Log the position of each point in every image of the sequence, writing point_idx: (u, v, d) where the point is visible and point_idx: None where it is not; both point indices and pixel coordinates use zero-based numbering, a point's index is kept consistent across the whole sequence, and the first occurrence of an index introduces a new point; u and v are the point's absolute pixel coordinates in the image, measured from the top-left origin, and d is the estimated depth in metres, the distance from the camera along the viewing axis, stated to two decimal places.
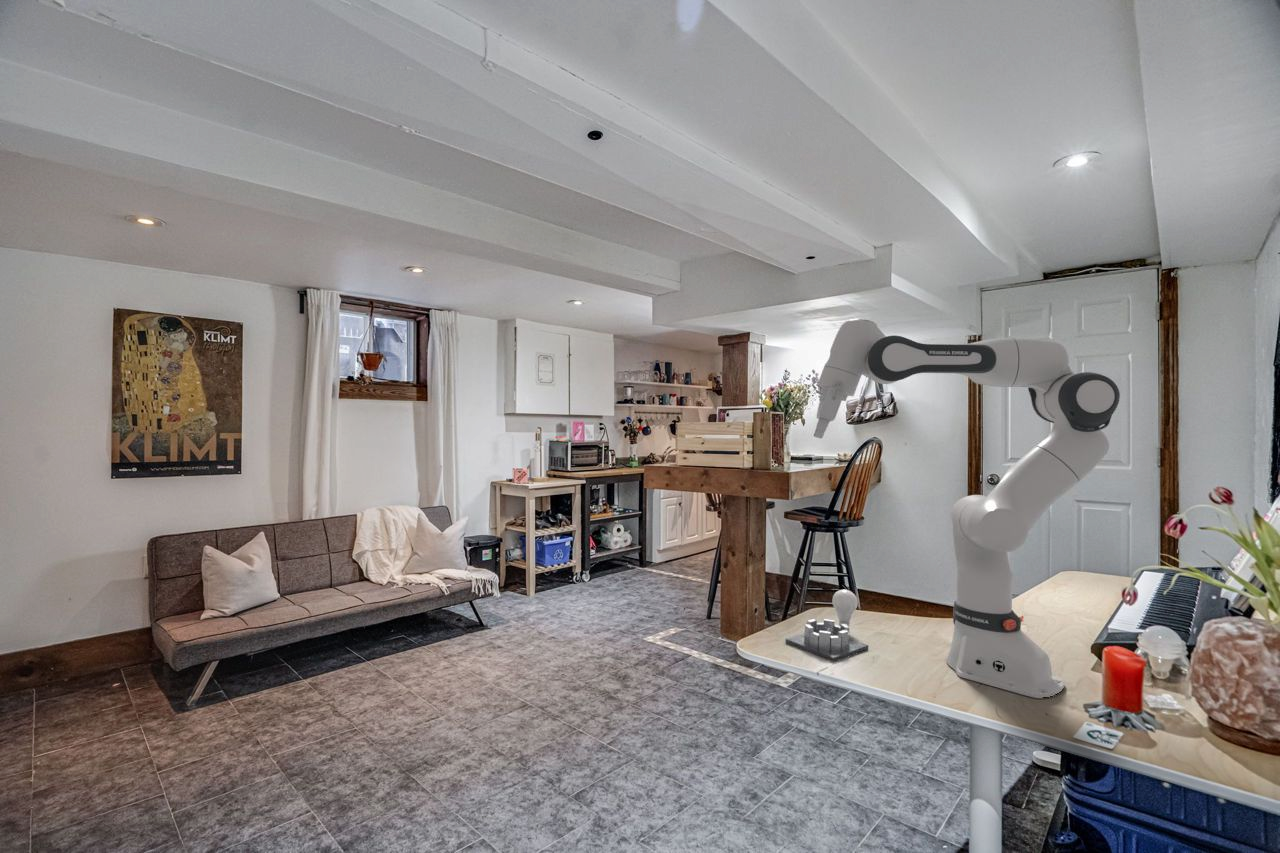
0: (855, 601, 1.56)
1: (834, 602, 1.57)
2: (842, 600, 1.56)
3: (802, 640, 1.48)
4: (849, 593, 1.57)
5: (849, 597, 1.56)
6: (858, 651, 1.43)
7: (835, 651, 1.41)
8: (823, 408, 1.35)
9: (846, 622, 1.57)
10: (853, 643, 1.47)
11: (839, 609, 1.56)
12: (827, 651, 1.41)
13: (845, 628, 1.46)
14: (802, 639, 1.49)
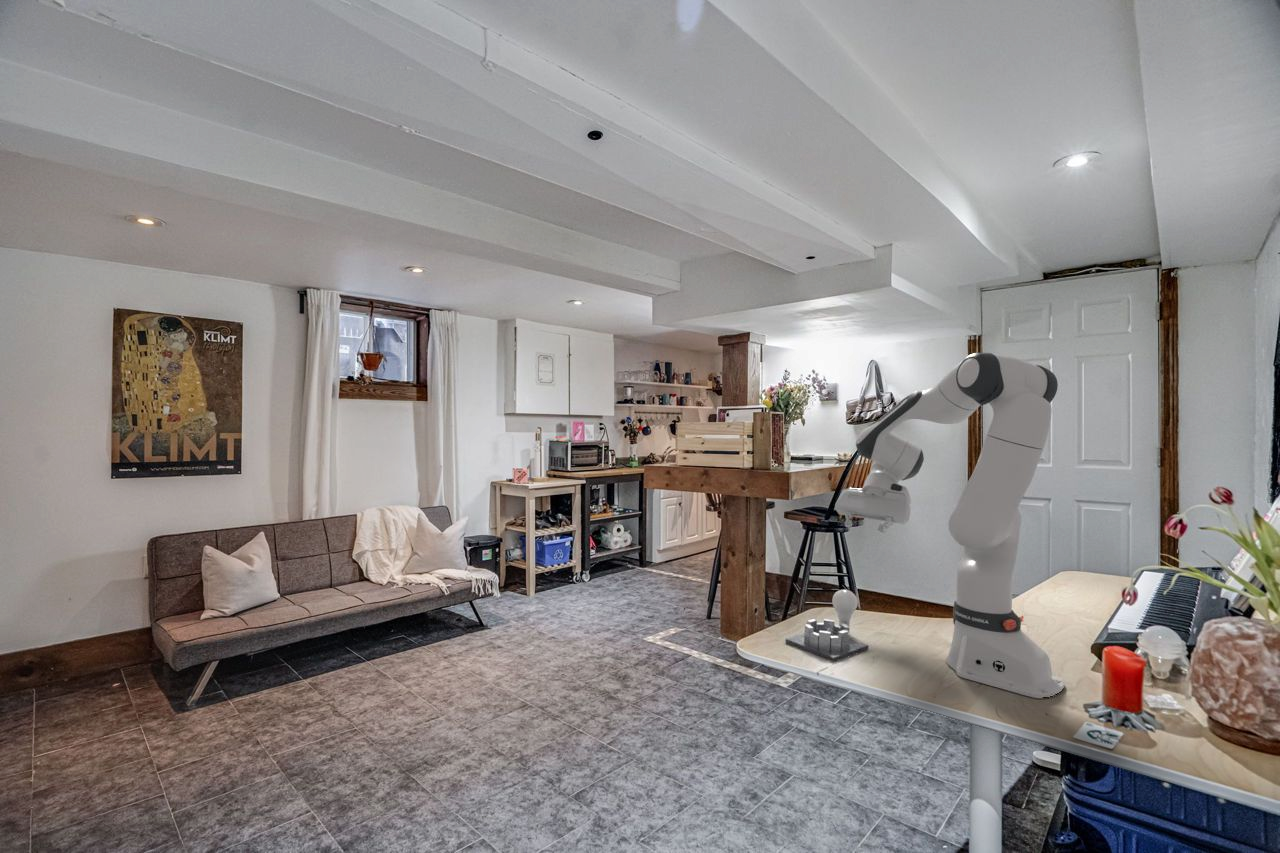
0: (855, 601, 1.56)
1: (834, 602, 1.57)
2: (842, 600, 1.56)
3: (802, 640, 1.48)
4: (849, 593, 1.56)
5: (849, 597, 1.56)
6: (858, 651, 1.43)
7: (835, 651, 1.41)
8: None
9: (846, 622, 1.57)
10: (853, 643, 1.47)
11: (839, 609, 1.56)
12: (827, 651, 1.41)
13: (845, 628, 1.46)
14: (802, 639, 1.49)
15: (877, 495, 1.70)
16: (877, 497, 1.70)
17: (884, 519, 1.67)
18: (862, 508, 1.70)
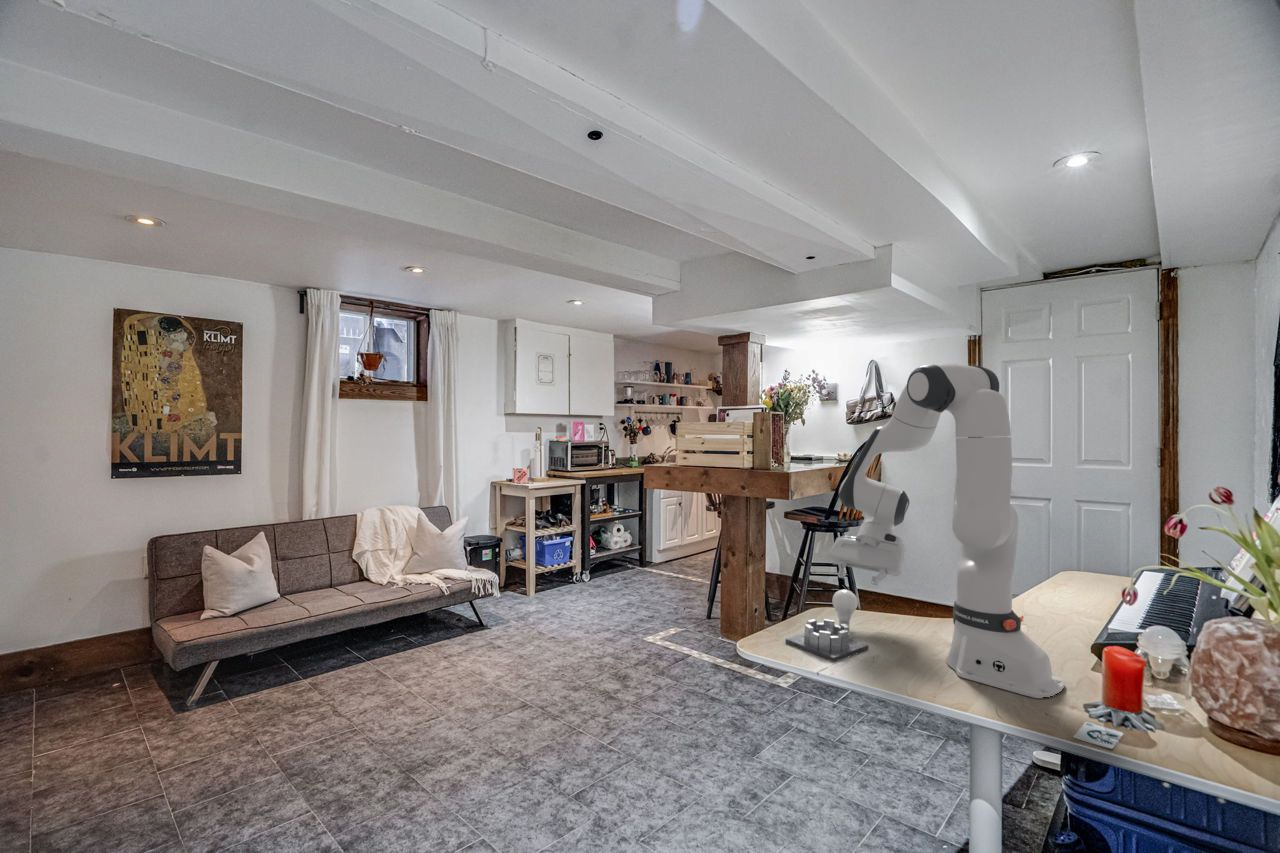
0: (855, 601, 1.56)
1: (834, 602, 1.57)
2: (842, 600, 1.56)
3: (802, 640, 1.48)
4: (849, 593, 1.57)
5: (849, 597, 1.56)
6: (858, 651, 1.43)
7: (835, 651, 1.41)
8: None
9: (846, 622, 1.57)
10: (853, 643, 1.47)
11: (838, 609, 1.56)
12: (827, 651, 1.41)
13: (845, 628, 1.46)
14: (802, 639, 1.49)
15: (871, 545, 1.67)
16: (871, 547, 1.67)
17: (878, 570, 1.64)
18: (856, 558, 1.67)
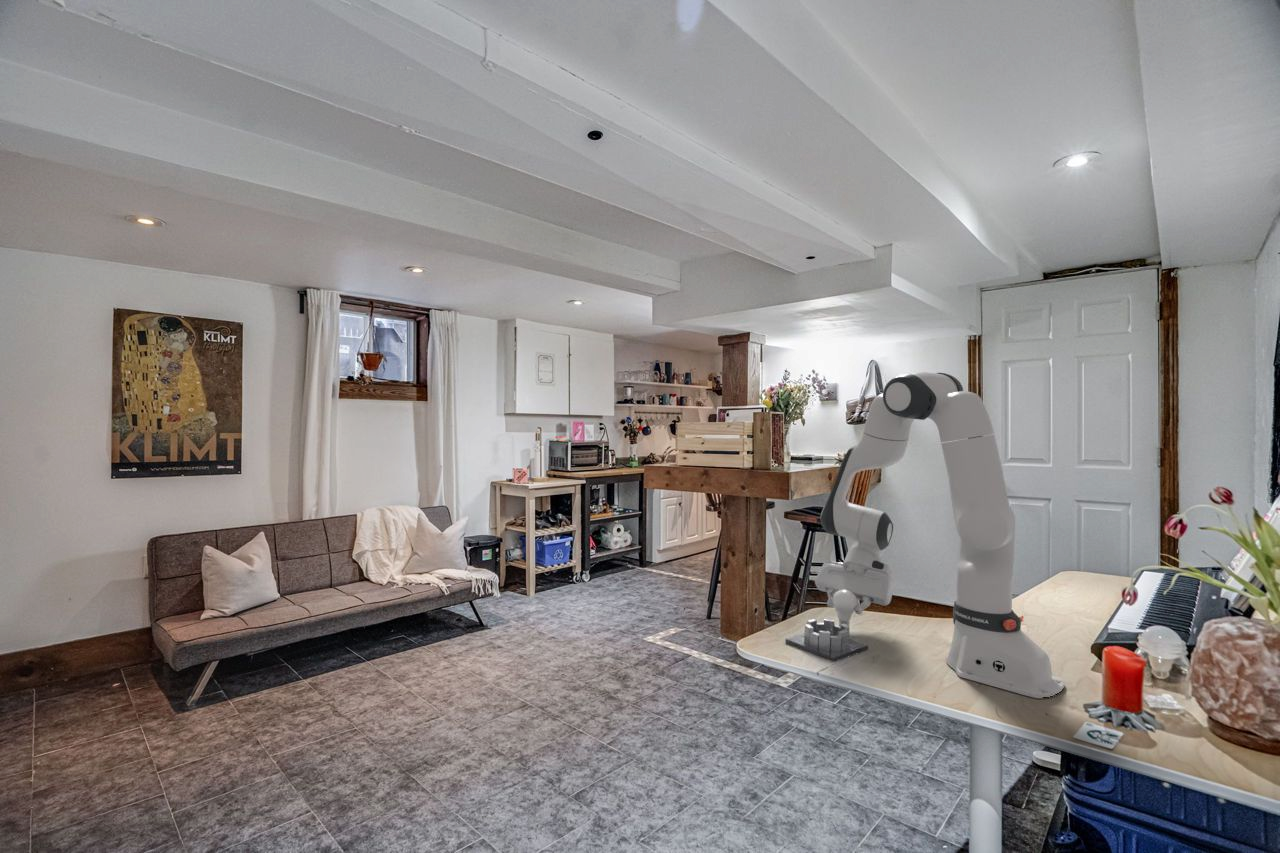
0: (855, 601, 1.56)
1: (834, 602, 1.57)
2: (842, 600, 1.56)
3: (802, 640, 1.48)
4: (849, 593, 1.57)
5: (849, 597, 1.56)
6: (858, 651, 1.43)
7: (835, 651, 1.41)
8: None
9: (846, 622, 1.57)
10: (853, 643, 1.47)
11: (838, 609, 1.56)
12: (827, 651, 1.41)
13: (845, 628, 1.46)
14: (802, 639, 1.49)
15: (858, 572, 1.61)
16: (858, 574, 1.61)
17: None
18: (842, 586, 1.61)
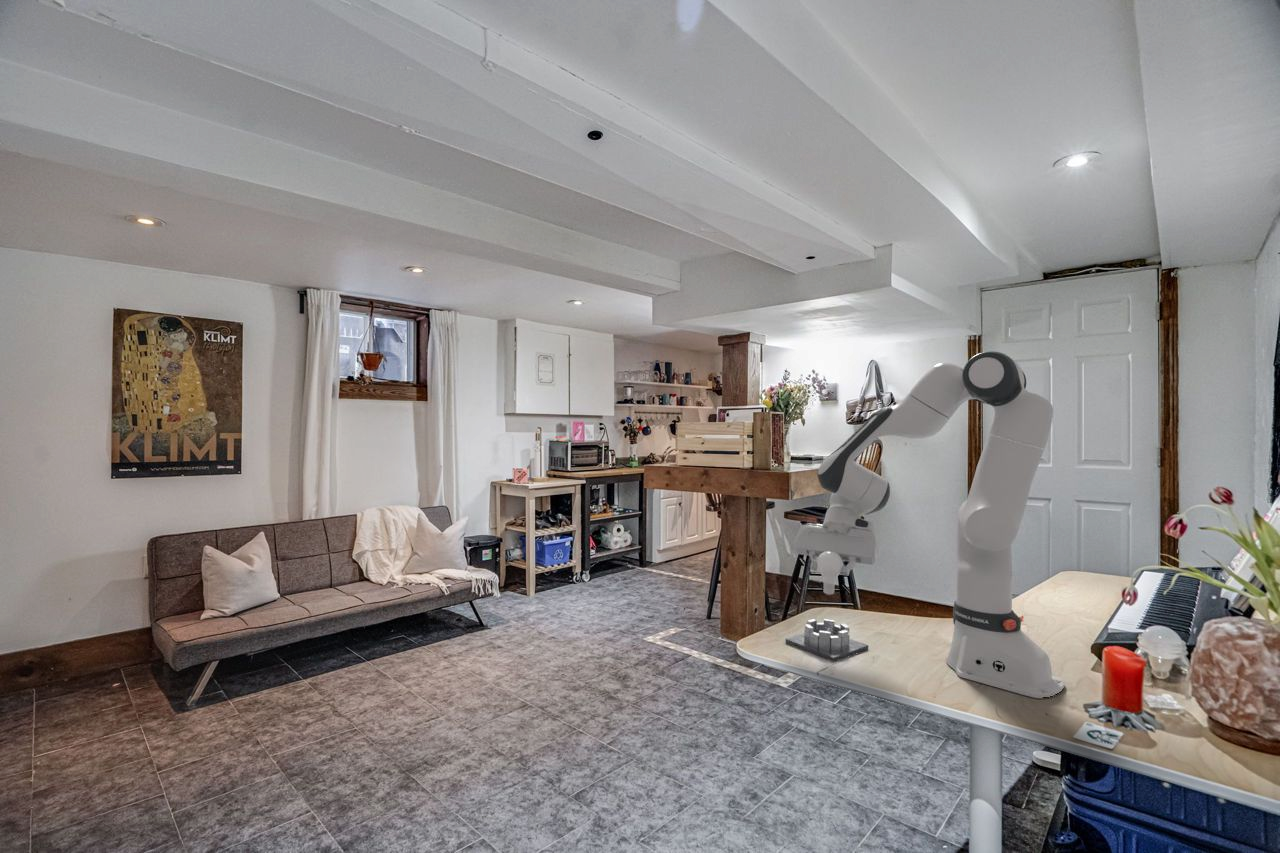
0: (842, 562, 1.47)
1: (820, 564, 1.47)
2: (829, 561, 1.46)
3: (802, 640, 1.48)
4: (835, 554, 1.47)
5: (836, 558, 1.46)
6: (858, 651, 1.43)
7: (835, 651, 1.41)
8: None
9: (832, 585, 1.47)
10: (853, 643, 1.47)
11: (825, 572, 1.46)
12: (827, 651, 1.41)
13: (845, 628, 1.46)
14: (802, 639, 1.49)
15: (841, 532, 1.52)
16: (841, 534, 1.52)
17: None
18: (826, 547, 1.51)
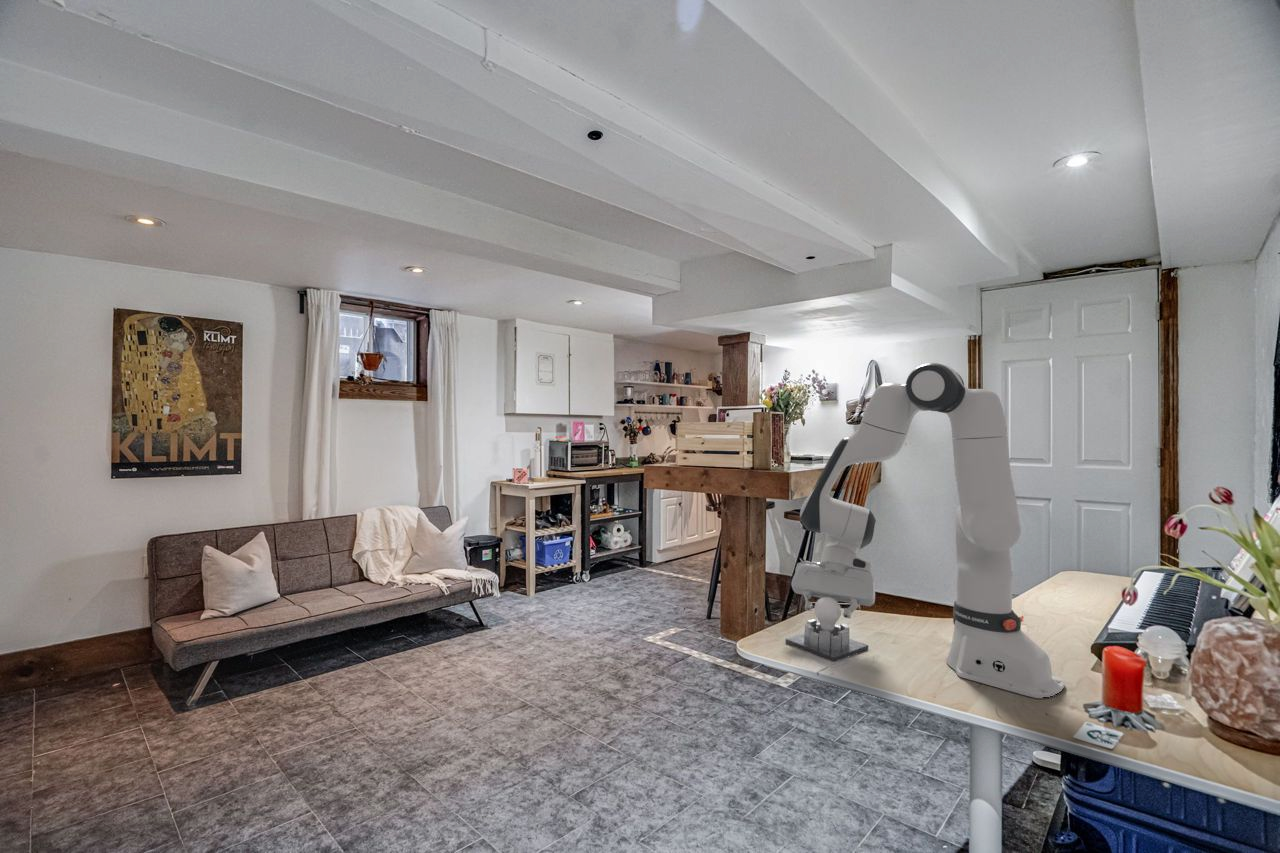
0: (839, 609, 1.45)
1: (818, 611, 1.46)
2: (827, 608, 1.45)
3: (802, 640, 1.48)
4: (833, 600, 1.46)
5: (834, 604, 1.45)
6: (858, 651, 1.43)
7: (835, 651, 1.41)
8: None
9: None
10: (853, 643, 1.47)
11: (823, 619, 1.45)
12: (827, 651, 1.41)
13: (845, 628, 1.46)
14: (802, 639, 1.49)
15: (838, 572, 1.51)
16: (838, 574, 1.51)
17: (847, 600, 1.48)
18: (823, 587, 1.50)
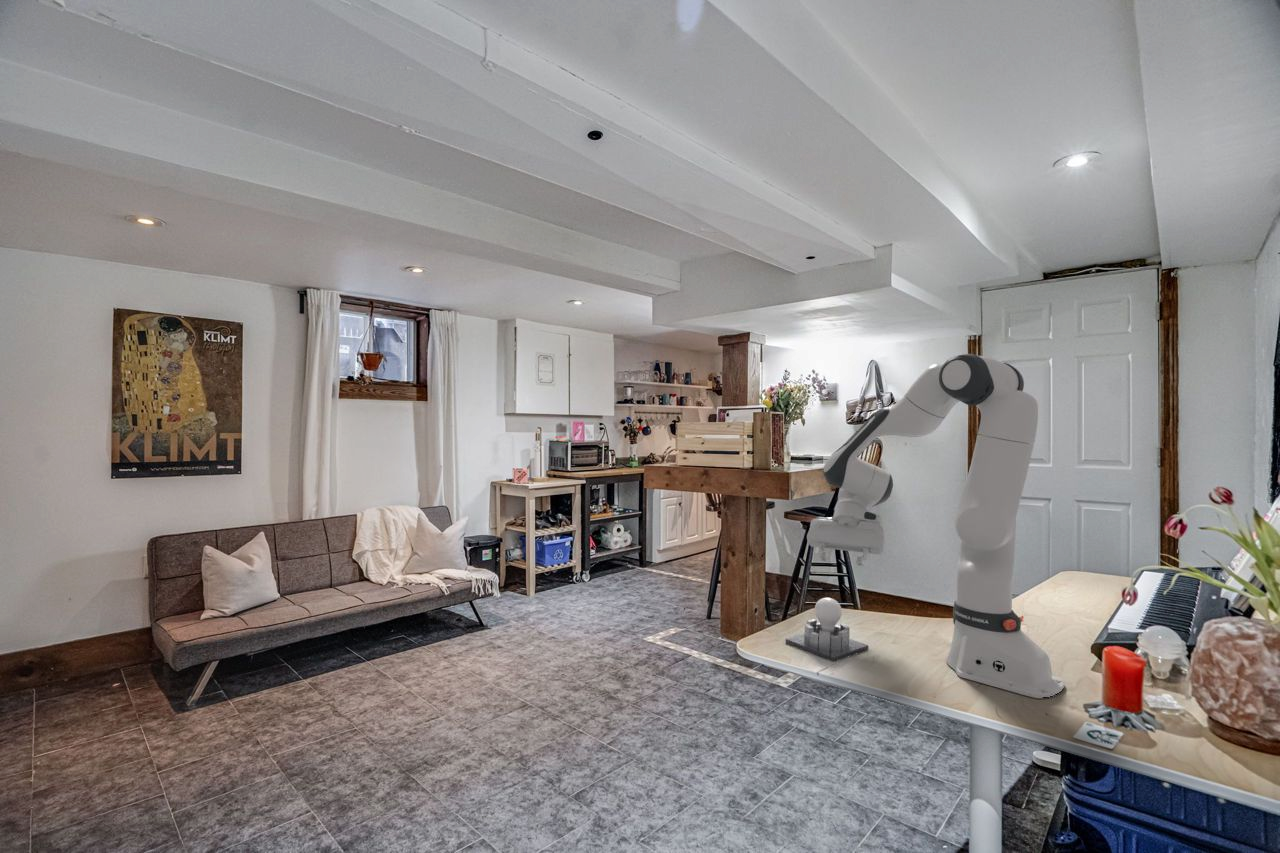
0: (840, 610, 1.45)
1: (818, 612, 1.46)
2: (827, 609, 1.44)
3: (802, 640, 1.48)
4: (833, 601, 1.46)
5: (834, 605, 1.45)
6: (858, 651, 1.43)
7: (835, 651, 1.41)
8: None
9: None
10: (853, 643, 1.47)
11: (823, 620, 1.45)
12: (827, 651, 1.41)
13: (845, 628, 1.46)
14: (802, 639, 1.49)
15: (850, 525, 1.62)
16: (850, 527, 1.62)
17: (860, 550, 1.59)
18: (837, 539, 1.61)
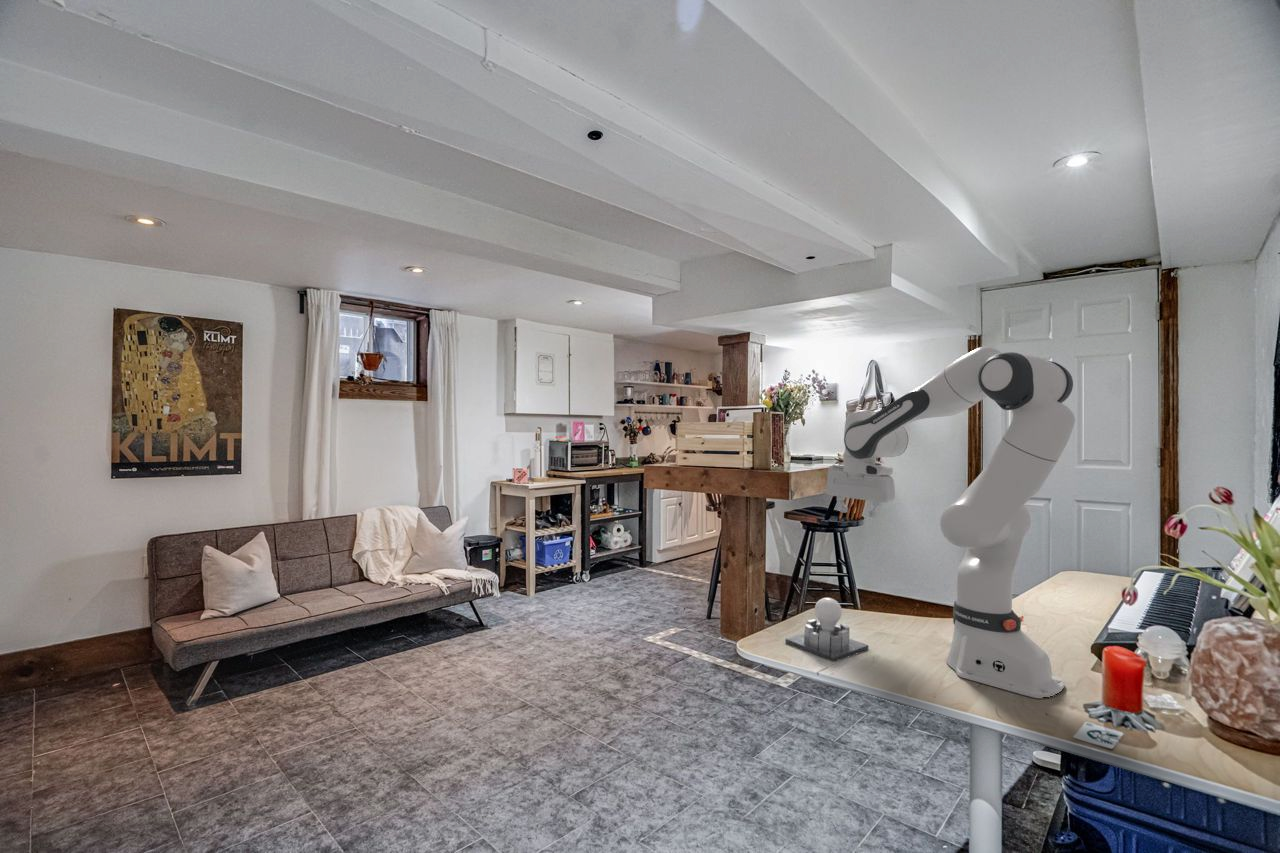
0: (840, 610, 1.45)
1: (818, 612, 1.45)
2: (827, 609, 1.44)
3: (802, 640, 1.48)
4: (833, 601, 1.46)
5: (834, 605, 1.45)
6: (858, 651, 1.43)
7: (835, 651, 1.41)
8: None
9: None
10: (853, 643, 1.47)
11: (823, 620, 1.45)
12: (827, 651, 1.41)
13: (845, 628, 1.46)
14: (802, 639, 1.49)
15: (858, 478, 1.68)
16: (859, 479, 1.69)
17: None
18: (849, 494, 1.71)
